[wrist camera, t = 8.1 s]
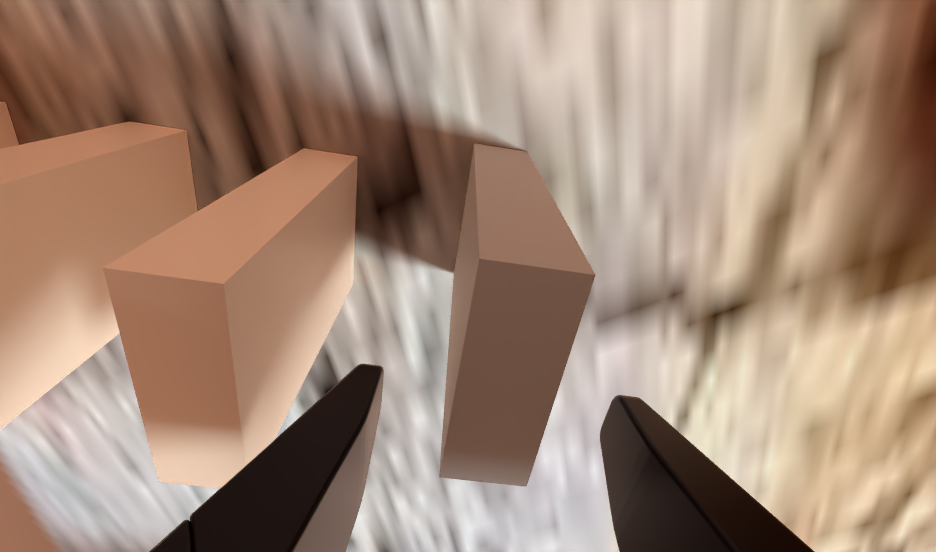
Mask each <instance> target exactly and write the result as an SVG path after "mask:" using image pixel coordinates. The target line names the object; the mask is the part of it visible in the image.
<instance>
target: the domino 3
mask: <svg viewBox="0 0 936 552" xmlns="http://www.w3.org/2000/svg"><path fill="white" fill-rule="evenodd" d="M594 278H595V273H594V272H593V270H592V268H591V266H590V264H589V263H588V261H587V259H586V257H585V255H584V254H583V252H582V250H581V248H580V246H579V245H578V243H577V241H576V239H575V237H574V235H573V234H572V232H571V230H570V228H569V226H568V225H567V223H566V221H565V219H564V217H563V216H562V214H561V212H560V210H559V208H558V207H557V205H556V203H555V201H554V199H553V198H552V196H551V194H550V192H549V190H548V189H547V187H546V185H545V183H544V181H543V180H542V178H541V176H540V174H539V172H538V171H537V169H536V167H535V165H534V163H533V162H532V160H531V158H530V156H529V154H528V152H526V151H520V150H514V149H507V148H501V147H495V146H489V145H482V144H476V143H474V147H473V154H472V160H471V167H470V173H469V180H468V186H467V192H466V199H465V205H464V212H463V218H462V225H461V231H460V237H459V244H458V250H457V257H456V263H455V270H454V279H453V293H452V307H451V321H450V335H449V349H448V363H447V377H446V391H445V405H444V419H443V433H442V447H441V461H440V475H439V477H442V478H451V479H461V480H470V481H479V482H489V483H498V484H508V485H517V486H527V483H528V480H529V477H530V474H531V471H532V468H533V465H534V462H535V459H536V456H537V453H538V449H539V446H540V443H541V440H542V437H543V434H544V431H545V428H546V425H547V422H548V419H549V416H550V413H551V410H552V407H553V403H554V400H555V397H556V394H557V391H558V388H559V385H560V382H561V379H562V376H563V373H564V370H565V367H566V364H567V360H568V357H569V354H570V351H571V348H572V345H573V342H574V339H575V336H576V333H577V330H578V327H579V324H580V321H581V317H582V314H583V311H584V308H585V305H586V302H587V299H588V296H589V293H590V290H591V287H592V284H593V281H594Z"/></svg>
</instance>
